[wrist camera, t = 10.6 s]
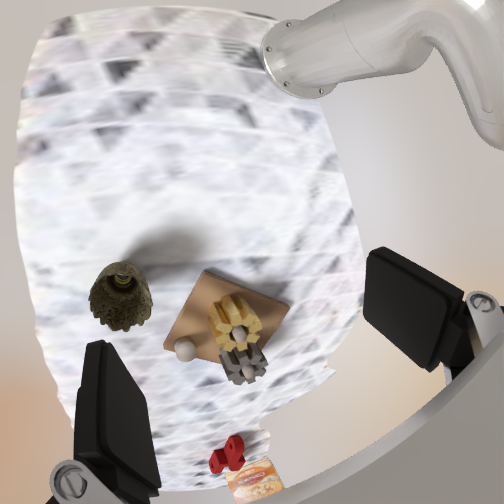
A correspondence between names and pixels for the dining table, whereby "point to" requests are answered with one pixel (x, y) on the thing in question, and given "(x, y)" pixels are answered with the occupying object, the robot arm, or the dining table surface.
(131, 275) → the cup
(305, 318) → the dining table surface
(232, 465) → the mechanical linkage
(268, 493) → the coffeecake box
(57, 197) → the dining table surface
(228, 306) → the brass gear
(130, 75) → the dining table surface
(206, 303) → the gear board
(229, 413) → the dining table surface
